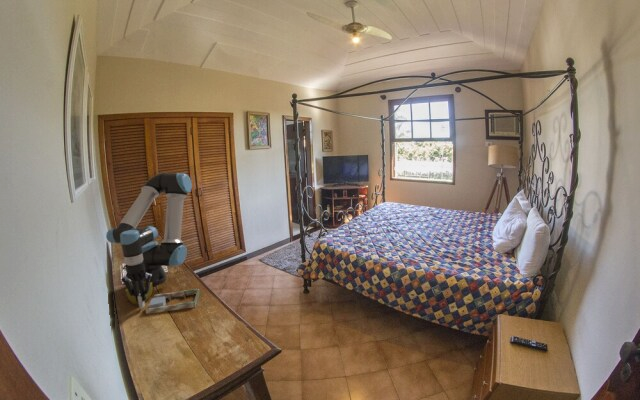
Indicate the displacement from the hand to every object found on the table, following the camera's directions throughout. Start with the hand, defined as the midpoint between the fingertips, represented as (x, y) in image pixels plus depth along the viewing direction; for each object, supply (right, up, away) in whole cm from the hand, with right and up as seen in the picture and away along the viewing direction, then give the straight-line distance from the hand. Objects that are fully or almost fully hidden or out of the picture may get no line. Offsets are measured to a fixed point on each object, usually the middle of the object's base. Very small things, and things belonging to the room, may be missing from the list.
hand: (142, 306), depth 140 cm
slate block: (+7, -1, +2) cm, 7 cm away
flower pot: (-5, 0, +7) cm, 8 cm away
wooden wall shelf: (+13, 0, +5) cm, 14 cm away
